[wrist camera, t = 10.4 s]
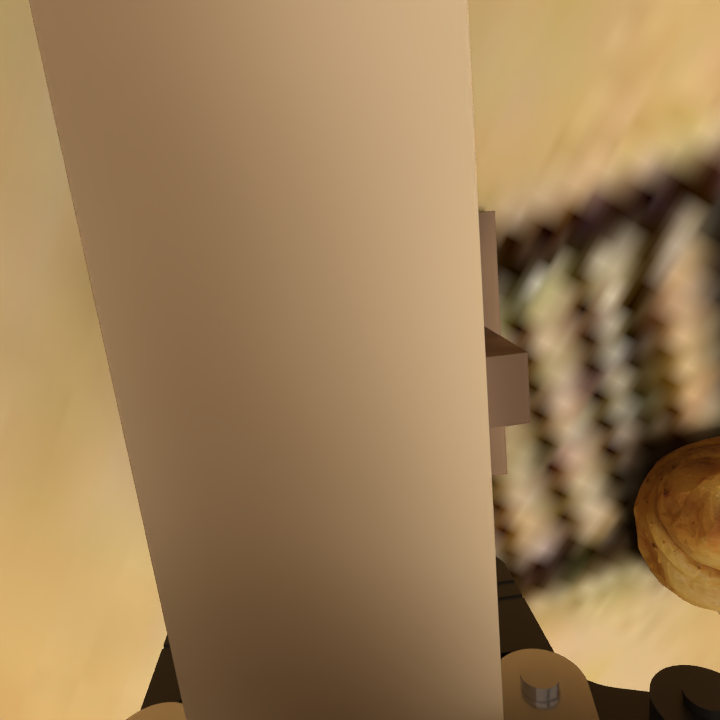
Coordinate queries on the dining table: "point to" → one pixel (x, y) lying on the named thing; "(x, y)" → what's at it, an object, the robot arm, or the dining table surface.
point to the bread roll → (683, 522)
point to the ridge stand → (500, 356)
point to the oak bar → (294, 340)
